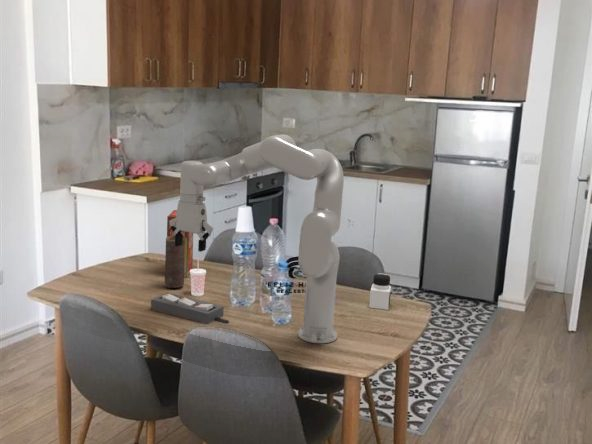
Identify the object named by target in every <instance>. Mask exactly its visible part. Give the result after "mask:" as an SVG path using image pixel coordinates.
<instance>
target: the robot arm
mask: <svg viewBox="0 0 592 444" xmlns="http://www.w3.org/2000/svg"><path fill="white" fill-rule="evenodd" d="M272 167H274V168H276V169H278V170H280V171H282V172H284V173H286V174H289V175H291V176H293V177H295V178H297V179H300V180H304V181H310V180H314V179H316V187H315V191H314V201H313V208H312V211H311V212H310V213H308V214H307V215H306V216H305V217H304V218H303V221H302V224H301V227H300V235H299V246H298V259H297V260H298V266H299V269H300V271H301V273H302V274H303V275H305V276H306V279H305V291H304V307H303V308H304V310H303V324H302V327H301V328H299V329H298V331H297V336H298V337H299V339H301V340H302V341H305V342H308V343H312V344H328V343H333V342H334V341H336V340H337V339H338V332H337V331H336V330H334V321H335V320H334V318H335V317H334V316H335V302H336V292H337V290H336V289H337V278H338V271H339V265H340V257H341V256H340V251H339V248H338V246H337V245H336V243H334V242H333V241H332V237H333V236H335V235H336V234H337V233H338V232H339V230H340V227H341V214H342V206H343V205H342V204H343V193H344V182H345V181H344V180H345V177H344V170H343V167H342V164H341V163H340V161H339V159H338V158H337V157H336V156H335V155H334V154H333V153H332V152H330V151H328V150H327V149H324V148H313V149H309V150H305V149H303V148H301V147H298V146H297V145H296V141H295V139H293V137H292V136H290V135H288V134H274V135H271V136H268V137H266V138H265V139H264V140H262V141H259V142H257V143H254V144H251V145H249V146H247V147H244V148H243V149H242V151H241V152H239V153H238V154H235V155H232V156H229V157H227V158H224V159H222V160H219V161H213V162H209V163H205V164H204V163H203V162H201V161H197V160H184V161H182V162H181V164H180V177H179V178H180V179H179V180H180V183H179V185H180V186H179V187H180V191H179V201H178V203H177V208H176V210H177V213H176V218H174V219H172V220H170V221H169V223H170V225H171V229H172V230H173V233H174V235H175V246H176V247H177V246H181V245H182V240H183V235H182V234H181V232H182V231H185V232H190V233H193V234H195V235H197V236H198V238H199V239H198V244H197V245H198V252H200V253H202V252H203V251H206V249H207V240H208V238H209V237H210V236H212V235H211V234H212V232H213V230H214V228H213V227H212V226H211V225H210V224H209V223H208V214H207V213H208V212H207V208H206V203H205V202H206V197H205V196H204V187H206V188H214V187H217V186H220V185H224V184H226V183H230V182H231V181H234V180H237V179H239V178H242V177H246V176H248V175H252V174H253V175H254V174H256V173H258V172H260V171H265V170H267V169H269V168H272ZM175 222H176V224H175Z"/></svg>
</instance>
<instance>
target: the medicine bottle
mask: <svg viewBox="0 0 592 444" xmlns="http://www.w3.org/2000/svg"><path fill="white" fill-rule="evenodd" d="M390 284H391V277H390V275H388V274H385V273H376V274H374V275H373V280H372V284H371V288H370V292H369V305H368V306H369V308H370V309H377V310H385V311H389V310H390V305H391V293H392V292H391V291H392V286H391V285H390Z"/></svg>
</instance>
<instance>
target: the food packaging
mask: <svg viewBox="0 0 592 444" xmlns="http://www.w3.org/2000/svg"><path fill="white" fill-rule="evenodd" d="M176 213H177V209H174V210H172V212H171V213H169V215H167V217H166V218H167V220H166V221H167V222H166V225H167V227H166V237H169V236H170V237H171V236H175V235H174V233H173V230H172V229H171V225H170V223H169V221H170V220H172V219H174V218H176ZM175 224H176V222H175ZM181 234H182V235H183V236H185V258H184V279H185V278H189V276H190V270H191V269H194V267H193V262H194V261H193V260H194V259H193V257H194V256H193V255H194V253H193V251H194V233H190V232H185V231H182V232H181Z"/></svg>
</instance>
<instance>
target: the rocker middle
mask: <svg viewBox="0 0 592 444" xmlns="http://www.w3.org/2000/svg"><path fill="white" fill-rule="evenodd" d="M178 304H182V305H186V306H193V305H195V304H196V302H194V301H191V300H189V299H187V298H182V299H180V300H178Z"/></svg>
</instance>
